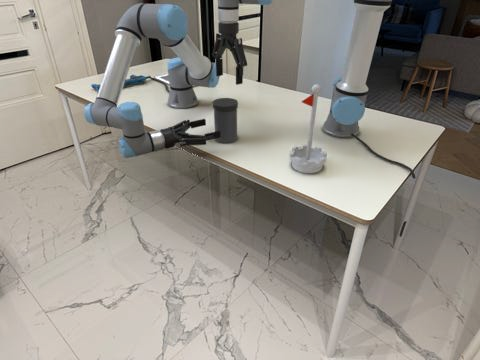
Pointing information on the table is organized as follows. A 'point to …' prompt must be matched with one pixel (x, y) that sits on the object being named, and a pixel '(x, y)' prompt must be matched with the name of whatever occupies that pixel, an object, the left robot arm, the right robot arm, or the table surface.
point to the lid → (225, 104)
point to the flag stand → (309, 143)
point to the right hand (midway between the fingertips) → (229, 79)
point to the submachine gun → (127, 81)
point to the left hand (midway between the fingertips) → (212, 127)
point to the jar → (226, 125)
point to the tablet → (164, 78)
